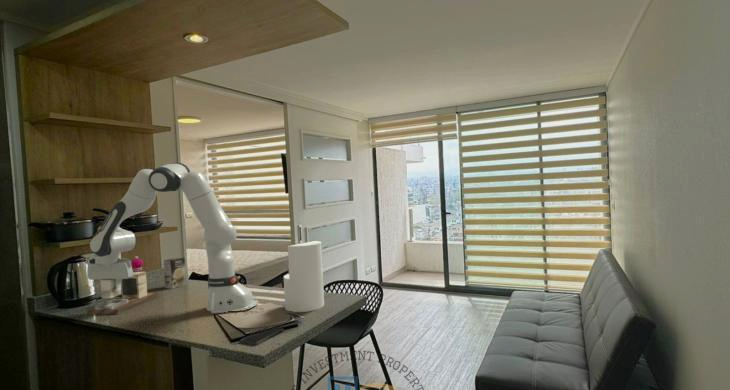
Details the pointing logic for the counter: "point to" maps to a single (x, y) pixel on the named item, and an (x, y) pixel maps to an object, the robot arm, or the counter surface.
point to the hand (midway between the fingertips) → (111, 288)
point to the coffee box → (174, 273)
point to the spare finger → (109, 288)
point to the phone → (261, 337)
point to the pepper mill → (136, 264)
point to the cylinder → (304, 278)
